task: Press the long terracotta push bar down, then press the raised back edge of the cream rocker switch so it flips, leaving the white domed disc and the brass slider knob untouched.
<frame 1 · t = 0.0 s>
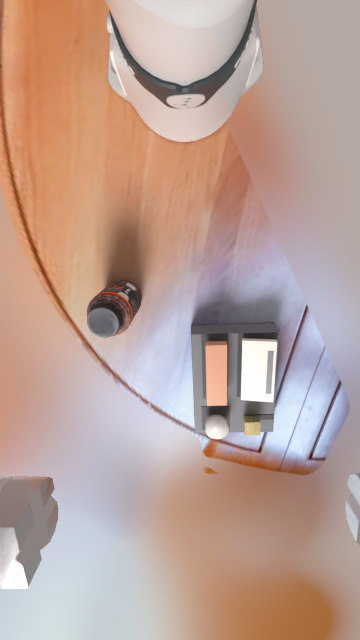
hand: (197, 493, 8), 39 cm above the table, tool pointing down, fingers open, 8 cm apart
supplement bottle: (123, 297, 47), on the table
rocker: (258, 370, 44), point 5 cm above the table, hinge at 10.0°
terracotta button: (216, 374, 44), point 6 cm above the table, slide at 0.0 cm
slider knob: (251, 423, 47), point 6 cm above the table, slide at 0.0 cm
panel: (231, 373, 51), on the table
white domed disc: (216, 426, 47), point 6 cm above the table, slide at 0.0 cm
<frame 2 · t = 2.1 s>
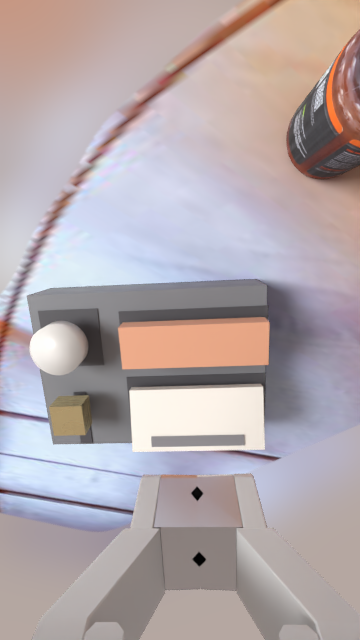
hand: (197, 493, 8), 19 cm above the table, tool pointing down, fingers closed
supplement bottle: (322, 139, 23), on the table
rocker: (196, 417, 23), point 5 cm above the table, hinge at 10.0°
terracotta button: (193, 343, 21), point 6 cm above the table, slide at 0.0 cm
slider knob: (73, 411, 23), point 6 cm above the table, slide at 0.0 cm
panel: (156, 353, 28), on the table
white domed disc: (59, 347, 21), point 6 cm above the table, slide at 0.0 cm
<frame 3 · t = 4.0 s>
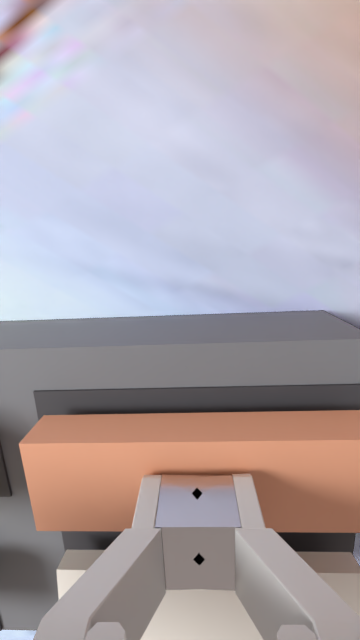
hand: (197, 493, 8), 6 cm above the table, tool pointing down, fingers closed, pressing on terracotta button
rocker: (207, 621, 10), point 5 cm above the table, hinge at 10.0°
terracotta button: (202, 470, 9), point 5 cm above the table, slide at 0.8 cm, touching gripper
panel: (131, 441, 15), on the table
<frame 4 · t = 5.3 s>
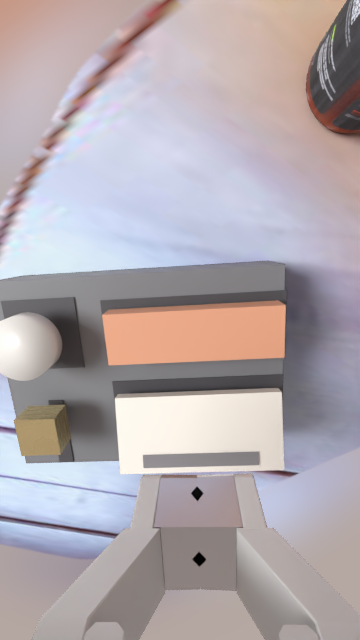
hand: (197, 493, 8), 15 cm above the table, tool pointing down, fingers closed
supplement bottle: (349, 84, 19), on the table
rocker: (198, 429, 19), point 5 cm above the table, hinge at 10.0°
terracotta button: (193, 332, 17), point 5 cm above the table, slide at 1.0 cm
slider knob: (47, 425, 19), point 6 cm above the table, slide at 0.0 cm
panel: (150, 352, 23), on the table
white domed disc: (25, 346, 17), point 6 cm above the table, slide at 0.0 cm
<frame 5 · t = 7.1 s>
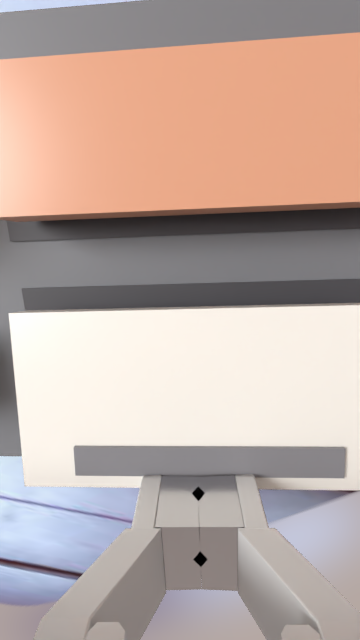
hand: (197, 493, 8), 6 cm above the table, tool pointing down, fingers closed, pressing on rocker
rocker: (204, 394, 8), point 5 cm above the table, hinge at 8.0°, touching gripper
terracotta button: (200, 142, 7), point 5 cm above the table, slide at 1.0 cm
panel: (118, 263, 13), on the table
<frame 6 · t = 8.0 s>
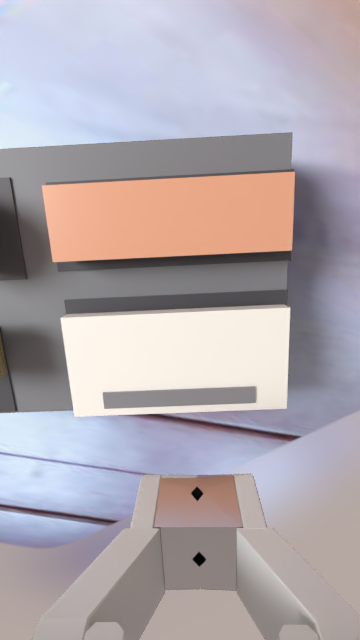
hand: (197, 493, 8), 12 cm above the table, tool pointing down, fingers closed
rocker: (177, 360, 14), point 5 cm above the table, hinge at 0.4°
terracotta button: (170, 220, 13), point 5 cm above the table, slide at 1.0 cm
panel: (120, 281, 19), on the table
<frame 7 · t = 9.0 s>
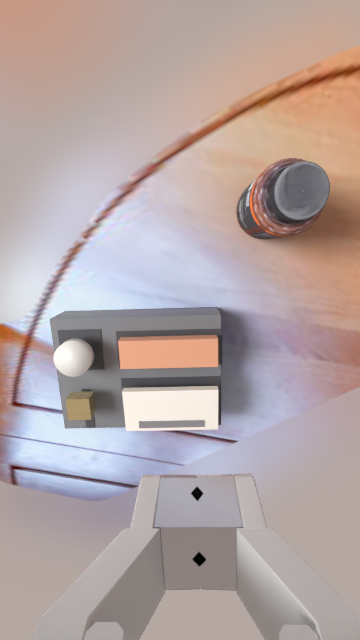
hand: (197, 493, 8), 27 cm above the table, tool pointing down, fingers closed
supplement bottle: (262, 210, 32), on the table
rocker: (171, 407, 32), point 5 cm above the table, hinge at -3.0°
terracotta button: (168, 351, 31), point 5 cm above the table, slide at 1.0 cm
slider knob: (82, 403, 32), point 6 cm above the table, slide at 0.0 cm
panel: (143, 360, 37), on the table
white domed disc: (74, 357, 30), point 6 cm above the table, slide at 0.0 cm
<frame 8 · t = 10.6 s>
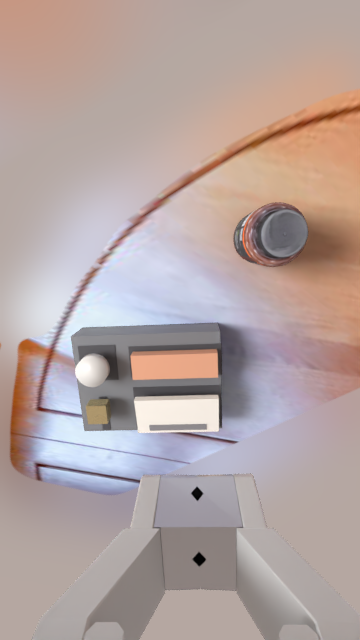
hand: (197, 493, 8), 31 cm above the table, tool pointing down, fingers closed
supplement bottle: (256, 237, 36), on the table
rocker: (177, 413, 36), point 5 cm above the table, hinge at -7.4°
terracotta button: (174, 364, 35), point 5 cm above the table, slide at 1.0 cm
slider knob: (99, 409, 37), point 6 cm above the table, slide at 0.0 cm
panel: (152, 370, 41), on the table
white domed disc: (92, 370, 35), point 6 cm above the table, slide at 0.0 cm
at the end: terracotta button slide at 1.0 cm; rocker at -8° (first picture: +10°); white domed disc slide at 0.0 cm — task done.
